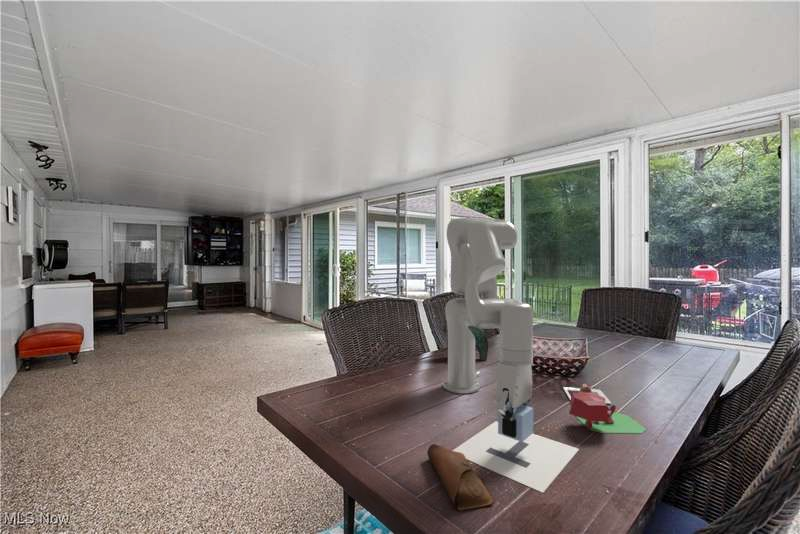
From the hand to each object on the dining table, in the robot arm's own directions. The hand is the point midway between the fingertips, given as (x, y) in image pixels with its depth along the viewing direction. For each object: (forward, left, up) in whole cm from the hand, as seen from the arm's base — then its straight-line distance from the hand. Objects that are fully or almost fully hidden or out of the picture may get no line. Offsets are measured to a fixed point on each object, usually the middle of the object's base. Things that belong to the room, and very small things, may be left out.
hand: (515, 429), depth 87 cm
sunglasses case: (+19, -4, -5) cm, 20 cm away
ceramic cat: (-59, -52, -5) cm, 79 cm away
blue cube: (0, 0, -1) cm, 1 cm away
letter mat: (0, 0, -5) cm, 5 cm away
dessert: (-48, +2, -6) cm, 48 cm away
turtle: (-30, +11, -6) cm, 32 cm away
